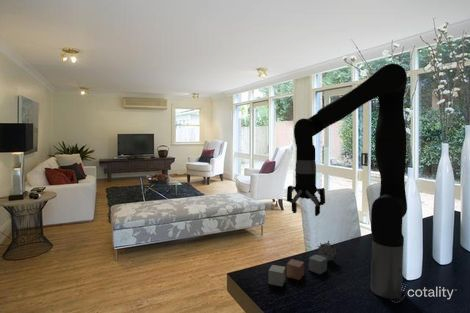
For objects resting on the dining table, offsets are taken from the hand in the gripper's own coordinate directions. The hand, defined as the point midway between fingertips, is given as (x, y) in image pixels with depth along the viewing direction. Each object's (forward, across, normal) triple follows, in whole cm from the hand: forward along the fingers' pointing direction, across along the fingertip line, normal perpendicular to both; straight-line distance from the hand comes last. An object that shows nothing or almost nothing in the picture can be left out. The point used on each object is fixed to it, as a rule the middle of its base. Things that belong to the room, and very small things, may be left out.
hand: (305, 214), depth 112 cm
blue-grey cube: (+23, -4, -4) cm, 24 cm away
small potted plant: (+23, -5, -14) cm, 27 cm away
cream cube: (+23, +6, +13) cm, 27 cm away
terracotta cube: (+23, +2, +5) cm, 23 cm away
